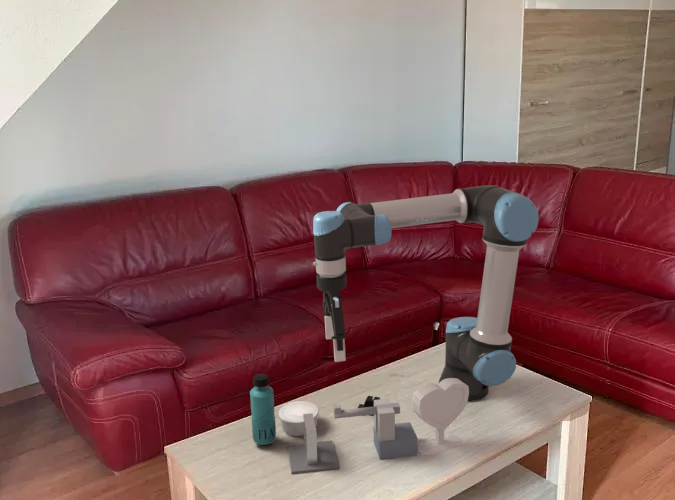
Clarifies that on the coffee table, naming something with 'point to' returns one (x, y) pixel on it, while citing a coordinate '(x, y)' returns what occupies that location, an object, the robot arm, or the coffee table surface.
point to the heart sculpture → (440, 411)
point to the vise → (386, 429)
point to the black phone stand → (369, 402)
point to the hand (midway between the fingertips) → (335, 349)
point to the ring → (310, 439)
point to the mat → (324, 458)
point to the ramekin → (296, 416)
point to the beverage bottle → (262, 410)
